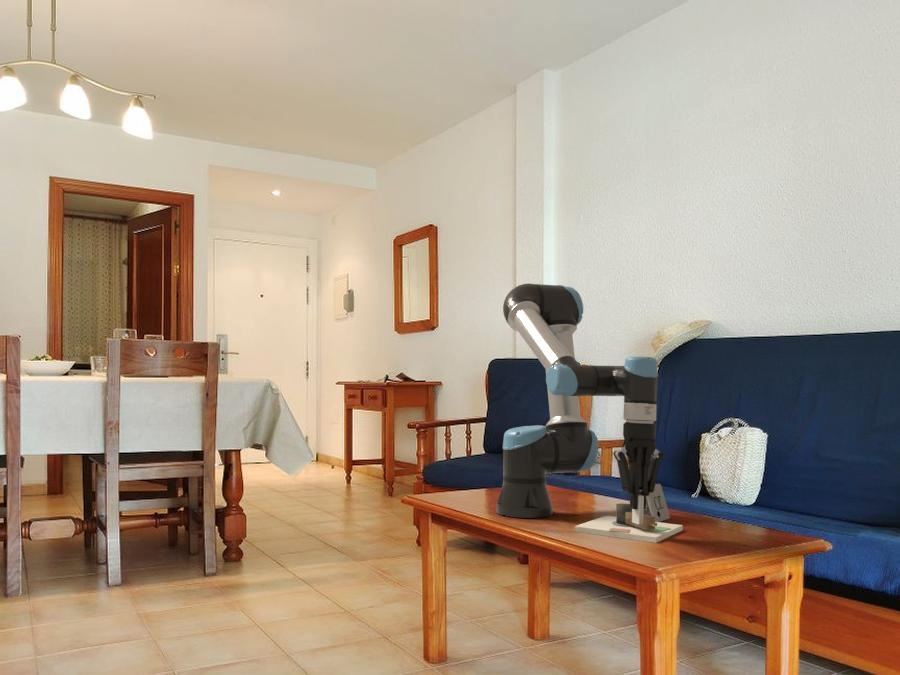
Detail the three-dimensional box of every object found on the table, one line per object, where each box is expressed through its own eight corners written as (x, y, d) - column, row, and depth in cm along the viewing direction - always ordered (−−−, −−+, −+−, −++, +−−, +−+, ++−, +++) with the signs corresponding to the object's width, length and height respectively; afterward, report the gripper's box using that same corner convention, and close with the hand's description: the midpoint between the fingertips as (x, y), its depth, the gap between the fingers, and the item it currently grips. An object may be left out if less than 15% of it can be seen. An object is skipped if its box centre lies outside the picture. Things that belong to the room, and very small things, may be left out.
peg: (613, 522, 181) (613, 504, 181) (626, 521, 182) (626, 503, 183) (648, 532, 168) (648, 513, 169) (662, 531, 170) (662, 512, 170)
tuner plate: (573, 531, 176) (573, 525, 176) (606, 520, 191) (606, 514, 191) (655, 543, 165) (655, 536, 165) (682, 530, 179) (682, 524, 179)
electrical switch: (656, 524, 187) (652, 487, 188) (636, 523, 190) (633, 487, 191) (670, 519, 194) (667, 483, 195) (651, 518, 197) (648, 483, 198)
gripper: (626, 422, 169) (623, 527, 167) (672, 423, 173) (670, 525, 171) (607, 420, 176) (605, 521, 174) (652, 421, 180) (650, 519, 178)
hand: (637, 523), depth 173 cm, fingers closed
